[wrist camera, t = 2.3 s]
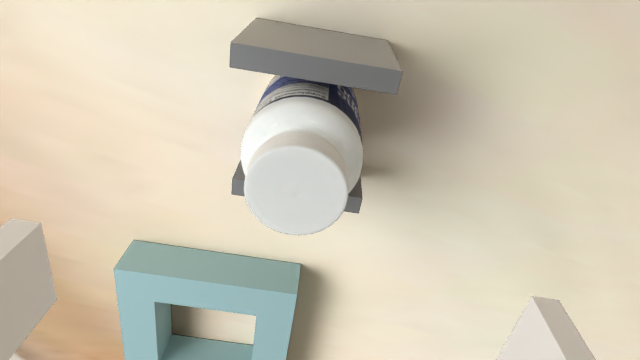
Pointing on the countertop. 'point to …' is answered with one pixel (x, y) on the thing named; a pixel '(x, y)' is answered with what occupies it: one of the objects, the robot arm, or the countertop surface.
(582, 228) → the countertop surface
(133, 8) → the countertop surface
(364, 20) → the countertop surface
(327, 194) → the pill bottle
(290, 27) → the gray upright plates
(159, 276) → the frame
